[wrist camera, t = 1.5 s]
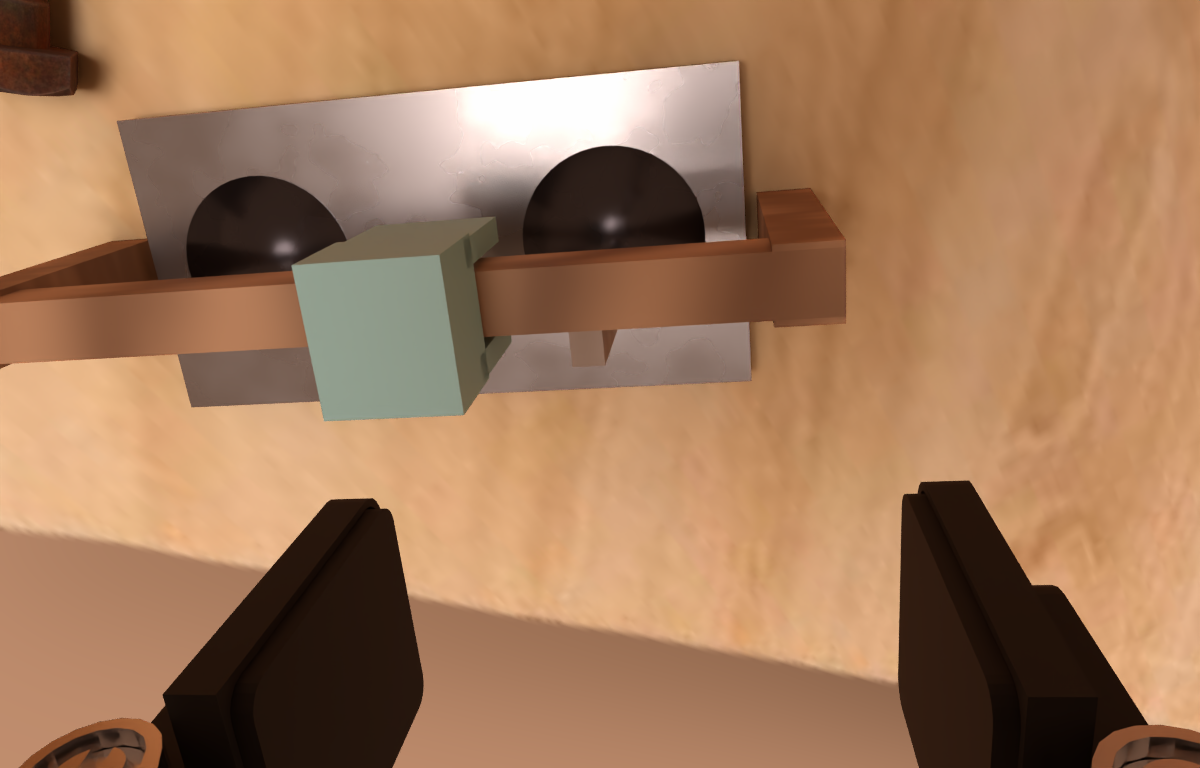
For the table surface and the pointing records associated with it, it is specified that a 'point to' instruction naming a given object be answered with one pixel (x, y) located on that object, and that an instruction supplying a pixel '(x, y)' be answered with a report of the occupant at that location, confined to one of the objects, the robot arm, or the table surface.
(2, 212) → the table surface
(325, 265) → the slider block
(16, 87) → the bolt
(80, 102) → the table surface
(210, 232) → the hole plate
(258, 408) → the table surface
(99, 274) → the beam
